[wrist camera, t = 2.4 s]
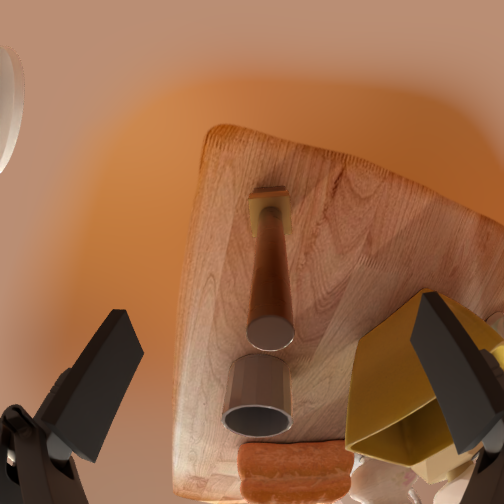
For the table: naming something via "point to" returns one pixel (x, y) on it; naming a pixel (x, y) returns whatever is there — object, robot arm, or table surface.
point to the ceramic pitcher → (383, 483)
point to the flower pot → (403, 389)
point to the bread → (295, 472)
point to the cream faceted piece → (448, 472)
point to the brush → (270, 271)
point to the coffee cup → (497, 323)
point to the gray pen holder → (258, 397)
